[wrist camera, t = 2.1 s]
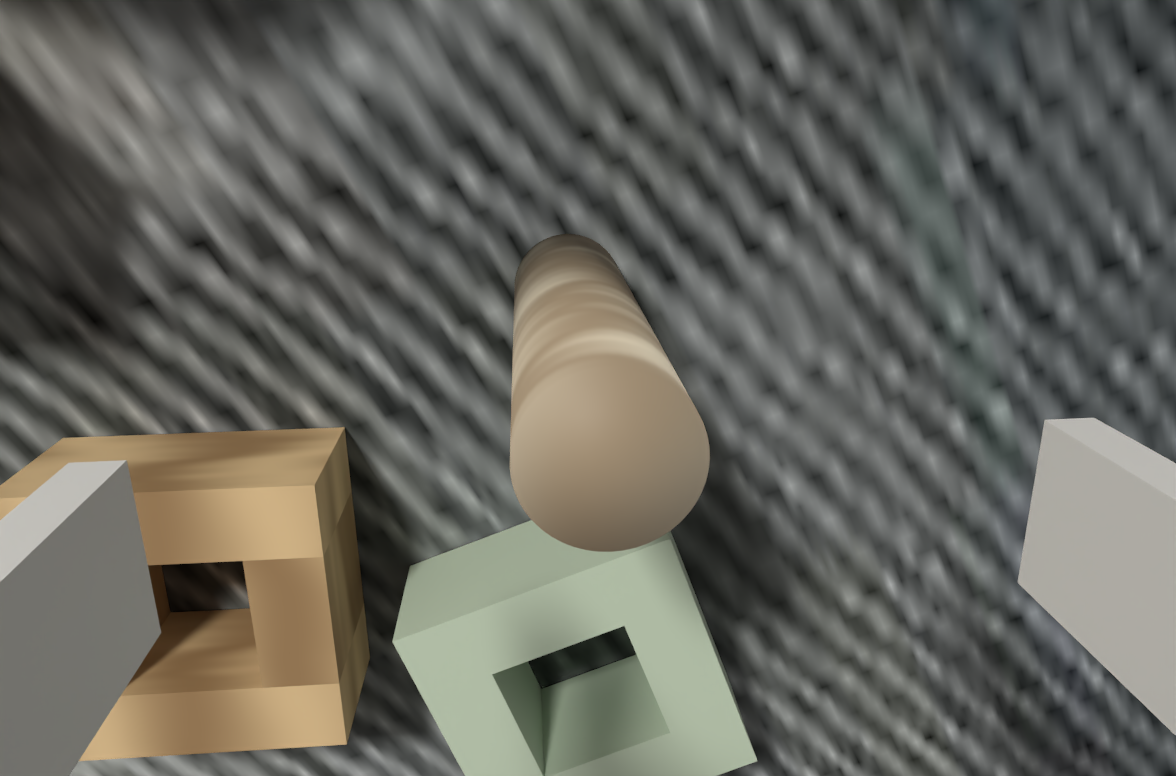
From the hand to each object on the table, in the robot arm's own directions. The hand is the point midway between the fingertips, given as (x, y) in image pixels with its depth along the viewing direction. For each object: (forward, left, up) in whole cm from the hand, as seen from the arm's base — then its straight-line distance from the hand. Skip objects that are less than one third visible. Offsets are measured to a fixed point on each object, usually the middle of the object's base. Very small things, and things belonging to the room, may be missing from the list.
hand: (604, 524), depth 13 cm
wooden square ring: (+12, +9, -16) cm, 22 cm away
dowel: (0, 0, -16) cm, 16 cm away
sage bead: (0, +13, -16) cm, 20 cm away
